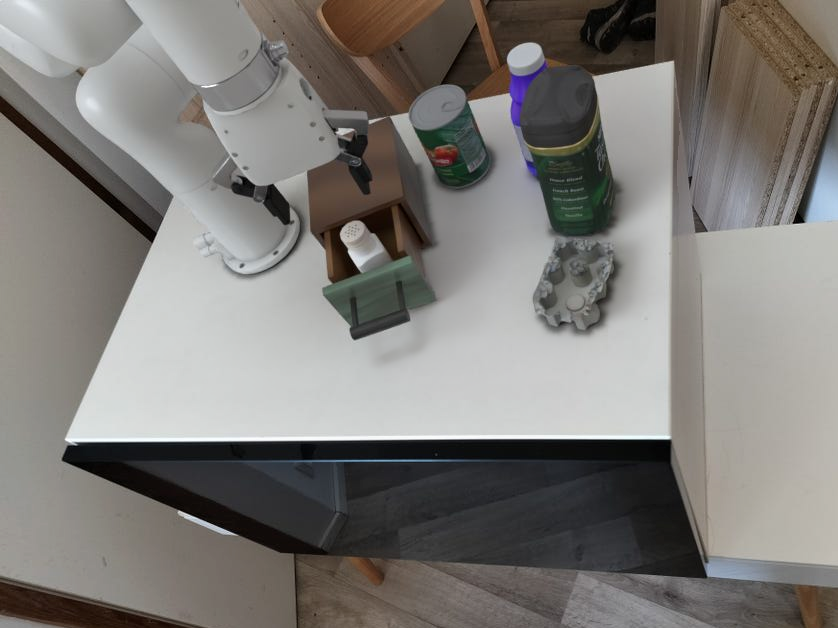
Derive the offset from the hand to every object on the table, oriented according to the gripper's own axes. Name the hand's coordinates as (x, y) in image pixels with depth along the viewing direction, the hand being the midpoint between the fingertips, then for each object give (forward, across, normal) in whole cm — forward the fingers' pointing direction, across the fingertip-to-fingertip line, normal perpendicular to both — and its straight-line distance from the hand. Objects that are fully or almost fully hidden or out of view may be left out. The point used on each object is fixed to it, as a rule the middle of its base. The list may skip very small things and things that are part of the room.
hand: (326, 200), depth 75 cm
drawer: (+16, -1, +1) cm, 16 cm away
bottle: (+16, -26, -10) cm, 32 cm away
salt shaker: (+15, -1, 0) cm, 15 cm away
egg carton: (+16, -23, +11) cm, 30 cm away
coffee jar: (+16, -27, -1) cm, 32 cm away
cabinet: (+17, -1, -12) cm, 21 cm away
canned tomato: (+17, -14, -16) cm, 27 cm away
